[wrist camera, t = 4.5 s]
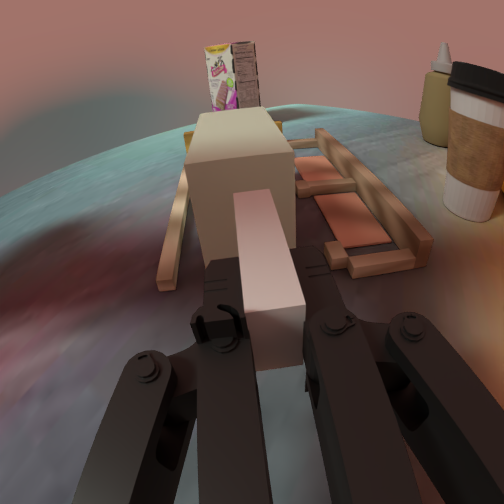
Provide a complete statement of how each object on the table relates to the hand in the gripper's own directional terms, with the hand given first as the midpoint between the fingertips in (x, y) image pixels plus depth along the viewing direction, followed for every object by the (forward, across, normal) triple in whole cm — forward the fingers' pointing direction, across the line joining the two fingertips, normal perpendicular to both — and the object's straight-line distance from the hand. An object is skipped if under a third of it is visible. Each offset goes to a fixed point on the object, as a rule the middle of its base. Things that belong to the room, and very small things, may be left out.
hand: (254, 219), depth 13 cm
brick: (+12, 0, -8) cm, 14 cm away
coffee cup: (+11, +23, -8) cm, 27 cm away
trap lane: (+18, +3, -8) cm, 19 cm away
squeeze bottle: (+32, +34, -8) cm, 48 cm away
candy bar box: (+49, +1, -8) cm, 49 cm away
